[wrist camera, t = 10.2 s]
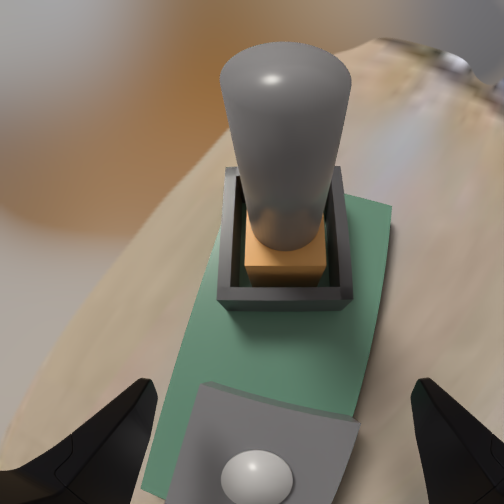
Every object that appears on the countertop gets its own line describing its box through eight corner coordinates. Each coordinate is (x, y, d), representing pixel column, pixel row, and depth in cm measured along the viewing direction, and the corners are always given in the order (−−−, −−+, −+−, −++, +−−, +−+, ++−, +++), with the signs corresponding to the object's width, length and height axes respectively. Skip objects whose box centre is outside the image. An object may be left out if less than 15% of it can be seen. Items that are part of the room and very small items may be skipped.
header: (341, 310, 16) (353, 299, 14) (227, 311, 17) (216, 300, 14) (332, 194, 19) (340, 166, 16) (233, 195, 19) (225, 167, 17)
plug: (316, 288, 17) (375, 141, 6) (252, 288, 17) (202, 142, 6) (313, 214, 18) (340, 34, 7) (254, 214, 19) (222, 34, 8)
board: (304, 526, 13) (305, 537, 12) (149, 481, 15) (140, 488, 13) (385, 216, 20) (391, 206, 18) (242, 184, 21) (240, 171, 20)
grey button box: (306, 528, 12) (309, 553, 9) (177, 494, 13) (159, 514, 10) (349, 415, 14) (363, 424, 12) (211, 381, 16) (197, 384, 13)
